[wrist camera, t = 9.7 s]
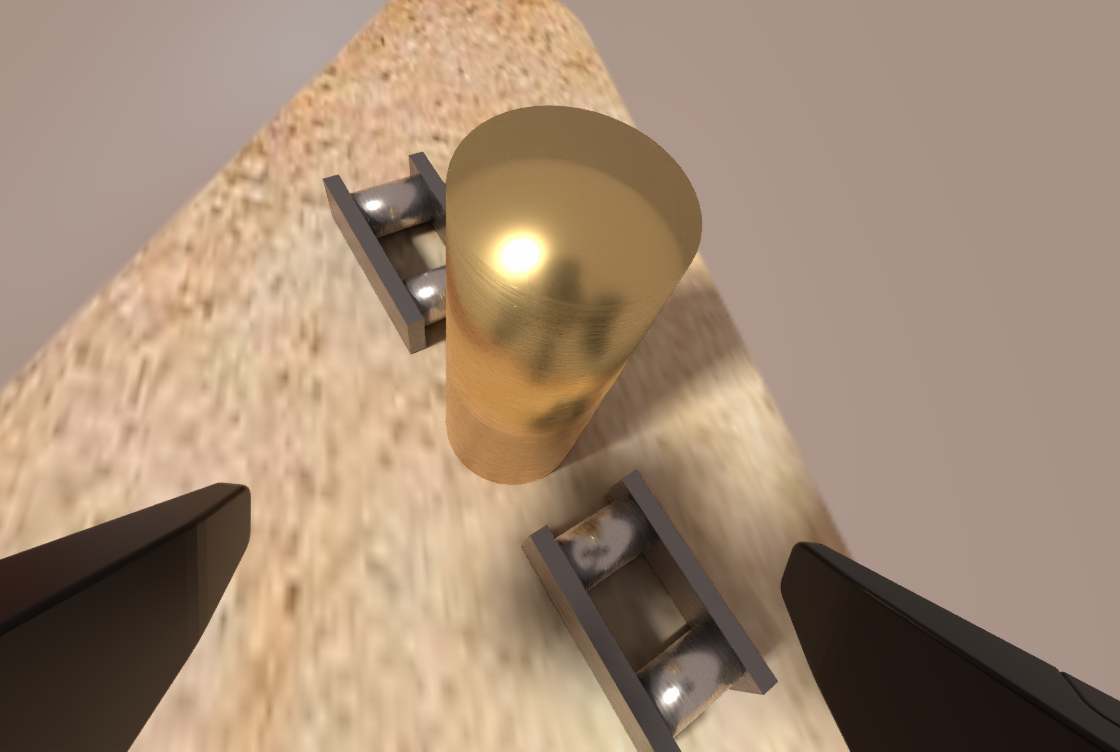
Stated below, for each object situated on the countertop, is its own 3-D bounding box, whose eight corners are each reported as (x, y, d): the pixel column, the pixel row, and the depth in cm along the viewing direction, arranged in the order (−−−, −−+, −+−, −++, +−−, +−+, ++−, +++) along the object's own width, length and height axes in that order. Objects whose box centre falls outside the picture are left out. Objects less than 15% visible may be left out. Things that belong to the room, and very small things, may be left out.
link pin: (543, 507, 18) (656, 352, 8) (421, 447, 18) (392, 224, 8) (593, 397, 20) (728, 172, 10) (484, 344, 20) (518, 73, 11)
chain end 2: (743, 677, 17) (777, 681, 15) (645, 765, 15) (671, 780, 14) (618, 485, 19) (636, 469, 17) (521, 546, 17) (529, 535, 16)
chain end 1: (505, 313, 21) (511, 283, 19) (410, 353, 20) (407, 325, 18) (424, 189, 23) (422, 151, 21) (332, 216, 22) (322, 178, 20)
